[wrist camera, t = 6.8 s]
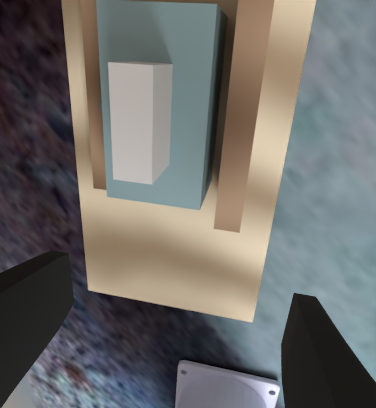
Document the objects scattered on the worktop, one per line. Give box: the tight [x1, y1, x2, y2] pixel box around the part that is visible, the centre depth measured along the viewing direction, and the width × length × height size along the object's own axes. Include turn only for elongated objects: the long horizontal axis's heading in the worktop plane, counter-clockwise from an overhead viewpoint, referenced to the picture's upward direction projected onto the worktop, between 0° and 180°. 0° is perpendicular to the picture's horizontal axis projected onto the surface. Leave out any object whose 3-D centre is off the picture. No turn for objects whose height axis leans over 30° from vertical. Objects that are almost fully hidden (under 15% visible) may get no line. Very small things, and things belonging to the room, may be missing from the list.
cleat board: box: [61, 0, 316, 323], centre depth 17 cm, size 20×12×5 cm, turn 177°
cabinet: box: [96, 0, 228, 210], centre depth 14 cm, size 8×5×6 cm, turn 177°
